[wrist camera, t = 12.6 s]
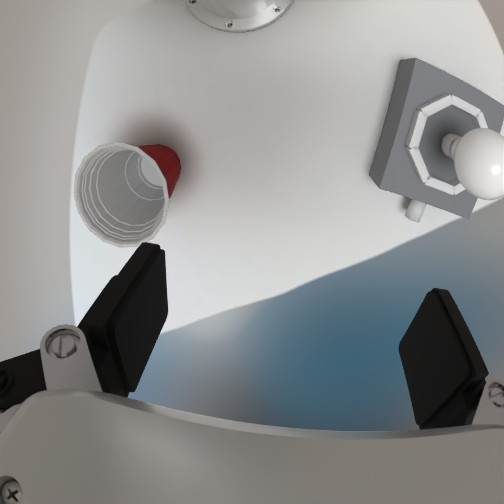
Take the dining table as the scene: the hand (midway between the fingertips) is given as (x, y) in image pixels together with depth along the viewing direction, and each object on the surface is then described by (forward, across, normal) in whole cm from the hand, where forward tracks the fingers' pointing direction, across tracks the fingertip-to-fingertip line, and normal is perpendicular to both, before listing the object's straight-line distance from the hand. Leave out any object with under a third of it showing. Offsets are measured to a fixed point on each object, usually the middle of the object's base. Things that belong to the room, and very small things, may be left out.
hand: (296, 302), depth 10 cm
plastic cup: (+29, +16, +5) cm, 33 cm away
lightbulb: (+24, -17, -4) cm, 29 cm away
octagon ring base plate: (+28, -17, -3) cm, 33 cm away
